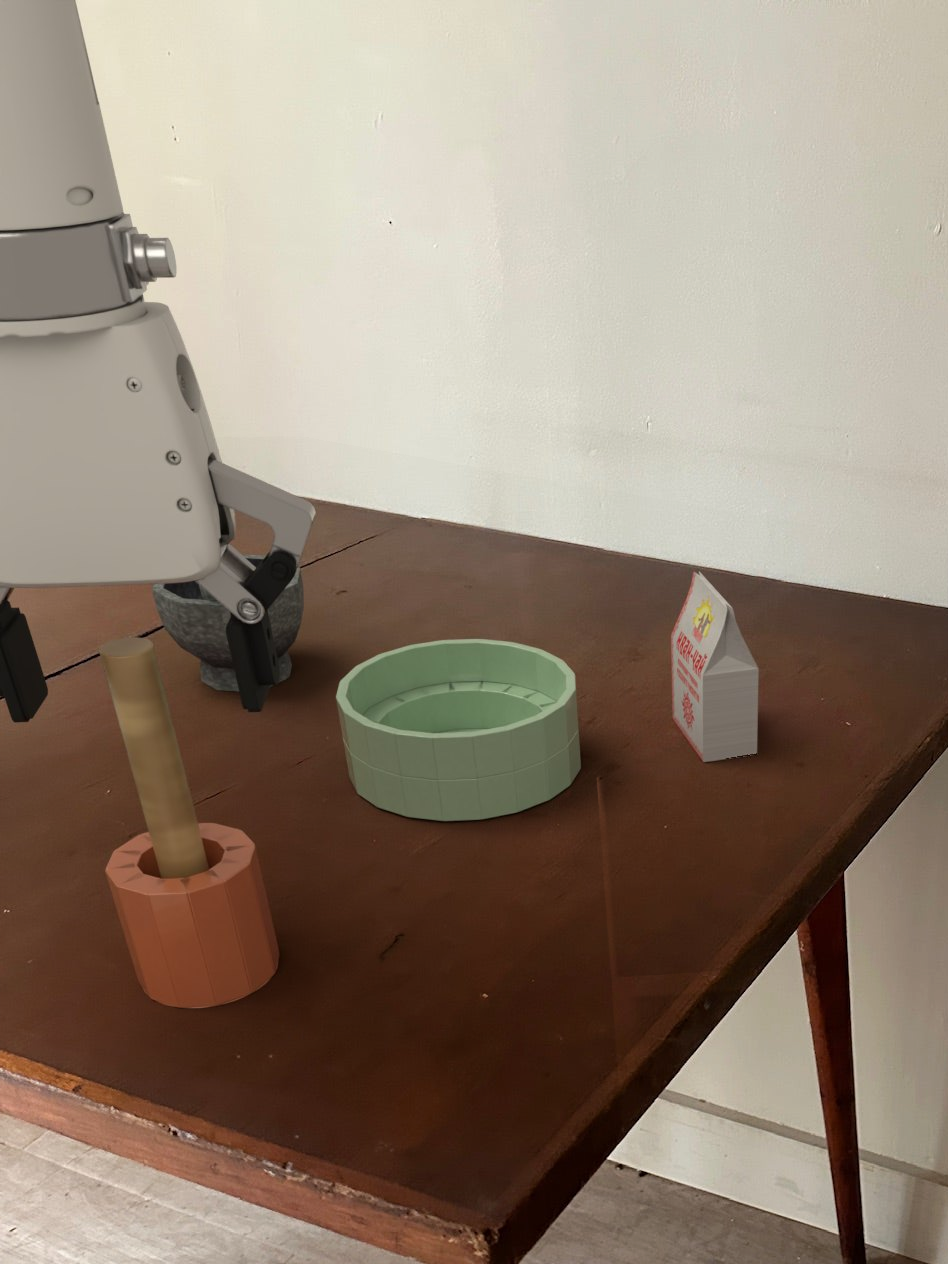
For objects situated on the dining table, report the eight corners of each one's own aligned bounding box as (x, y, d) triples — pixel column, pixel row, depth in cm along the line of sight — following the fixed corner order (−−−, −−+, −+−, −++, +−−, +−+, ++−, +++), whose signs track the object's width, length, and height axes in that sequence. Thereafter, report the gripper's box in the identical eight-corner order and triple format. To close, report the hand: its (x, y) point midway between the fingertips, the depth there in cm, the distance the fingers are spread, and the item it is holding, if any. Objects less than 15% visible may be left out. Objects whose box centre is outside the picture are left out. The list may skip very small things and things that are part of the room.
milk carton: (723, 711, 98) (724, 568, 92) (756, 754, 93) (759, 605, 87) (672, 718, 97) (669, 573, 91) (703, 762, 92) (702, 612, 86)
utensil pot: (130, 1019, 69) (91, 897, 65) (158, 943, 75) (124, 825, 70) (270, 1011, 70) (241, 890, 66) (288, 936, 75) (262, 819, 71)
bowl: (340, 835, 84) (323, 741, 80) (363, 728, 95) (349, 642, 91) (584, 824, 86) (578, 732, 82) (578, 720, 97) (573, 635, 93)
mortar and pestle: (187, 649, 105) (147, 481, 97) (319, 643, 106) (290, 477, 99) (165, 715, 96) (120, 536, 89) (310, 707, 97) (277, 530, 90)
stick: (183, 982, 71) (93, 657, 61) (191, 957, 73) (105, 637, 62) (229, 979, 71) (147, 656, 61) (236, 954, 73) (157, 635, 63)
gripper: (284, 254, 57) (354, 662, 67) (-179, 259, 55) (-33, 678, 65) (254, 290, 51) (336, 732, 61) (-265, 297, 49) (-90, 752, 59)
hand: (146, 704), depth 63 cm, fingers open, 9 cm apart
